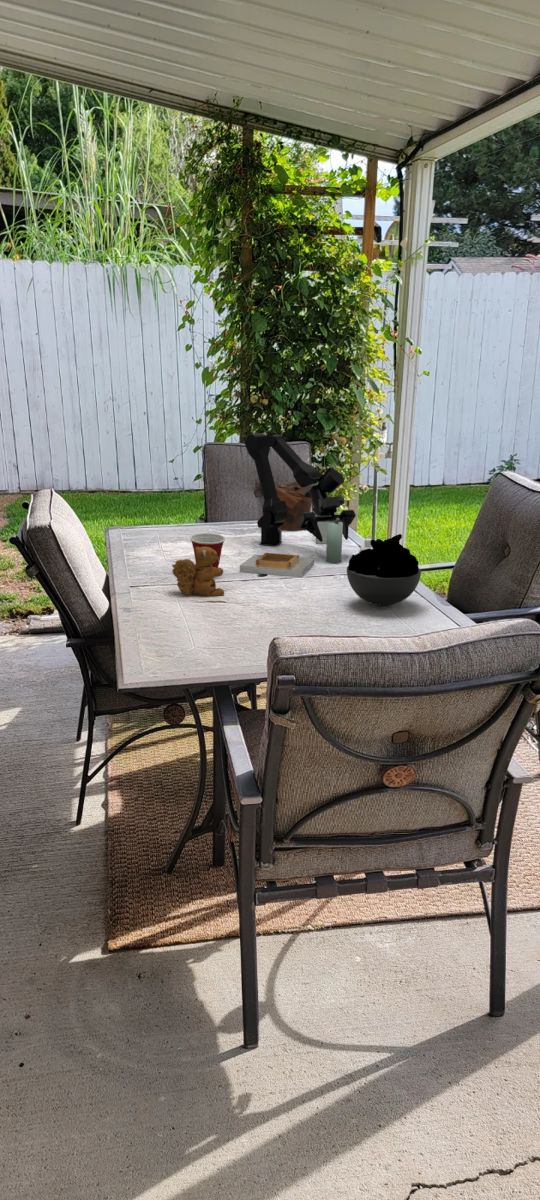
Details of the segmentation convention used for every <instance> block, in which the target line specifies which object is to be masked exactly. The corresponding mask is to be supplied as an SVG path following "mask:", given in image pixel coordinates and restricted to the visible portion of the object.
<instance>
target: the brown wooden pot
mask: <svg viewBox="0 0 540 1200" xmlns="http://www.w3.org/2000/svg"><path fill="white" fill-rule="evenodd" d="M275 487H276V491H277V495H278V498H279V499H280V500H281V501H285V502H286V508H287V510H288V512H287V518H286V520H285V522H284V525H283V526H280V531H302V530H304V528H302V529H301V528H300V527H299V520H300V518H301V516H302V514H303V513H304V512H311V508H312V506H313V503H312V500H311V498H308V497H305V493H306V492H307V489H310V488H311V487H312V486H308V487H301V486H299V485H298V483H297V482H296V480H295V481H292V482H289V483H285V484H281V485H280V484H279V485H278V486H275Z"/></svg>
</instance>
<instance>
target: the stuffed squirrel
mask: <svg viewBox="0 0 540 1200" xmlns="http://www.w3.org/2000/svg"><path fill="white" fill-rule="evenodd" d="M195 551H196V558H197V562H196V561H195V563H194V562H193V561H192V560H191V559H188V558H186V559H185V558H183V559H179V560H176V561H175V563H174V564H172V565H171V566H172V568H173V569H172V570H171V572H172V574H173V576H174V577H175V578H176V582H177V583H176V584H177V587H178V590H179V592H181V593H182V594H183V595H185V596H187V597H188V596H189V597H190V596H192V595H193V596H194V595H198V596H202V597H203V596H205V597H219V596H224V594H225V590H224V589H223V588H220V587H217V588H216V586H217V583H216V580H215V578H217V577H221V576H222V575H223V574H224V569H223V568H222V567H221V566H220V567H219V566H218V568H215V567H213V566H212V563H214V562H215V561H216V560H217V559H218V556H217V552H216V551H215V550H213V549H212V548H210V547H200V548H199V547H196V548H195ZM218 562H219V559H218ZM219 563H220V562H219ZM214 577H215V578H214Z"/></svg>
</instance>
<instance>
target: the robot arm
mask: <svg viewBox="0 0 540 1200" xmlns="http://www.w3.org/2000/svg"><path fill="white" fill-rule="evenodd" d="M244 446H245V449H246V451H247V454H248V455H249V457H251V459H252V460H253V462H254V465H255V467H256V472H257V476H258V481H259V484H260V488H261V494H262V496H263V505H262V509H261V510H262V515H261V517H260V518H259V519H257V521H256V523H257V527H258V528H260V537H261V538H260V543H259V545H262V546H272V547H273V546H274V547H275V546H276V547H277V546H278V545H280V544H282V540H283V539H282V538H283V536H282V535H283V534H282V533H283V532H282V531H283V530H280V526H283V525H284V522H285V520H286V518H287V512H288V510H287V508H286V502H285V501H281V500H280V499H279V498H278V495H277V491H276V487H277V486H276V485H275V480H274V475H273V472H272V467H271V465H270V461H269V454H270V452H271V448H272V450H274V452H276V454H277V455H278V456H279V457H280V459H281V460H282V461H283V462H284V463H285V464H286V465H287V466H288V468H290V470H291V471H292V475H293V476H292V477H293V478H294V480H295V481H296V482H297V483H298V485H299V486H301V487H308V486H312V487H311V488H310V489H307V492H306V493H305V497H308V498H311V500H312V506H313V508H312V511H310V512H304V513H303V514H302V516H301V518H300V520H299V527H300V528H301V529H302V528H304V529H302V530H304V531H308V532H309V533H310V534H311V535H313V536H314V537H315V539H316V538H317V539H318V540H319V541H320V542H322V541H323V539H322V535H321V533H320V530H319V527H318V523H317V522H329V521H335V520H336V518H339V519H340V521H339V522H342V523H343V531H342V537H343V538H344V539H345V540H346V541H348V539H349V527H350V525H351V524H352V523H353V521H354V520H355V518H356V516H357V515H356V512H355V510H354V509H343V510H342V511H341V512H340V514H337V515H335V514H334V513H335V512H336V511H337V510H338V508H340V507H341V506H343V505H344V504H345V498H344V496H343V494H338V495H336V496H329V494H333V493H334V492H335V491H336V490H337V489H339V488H340V487H341V486H342V485H343V484H344V483H345V477H344V476H343V474H342V473H341V472H339V471H338V470H337V469H334V467H332V466H331V467H328V468H327V469H326V471H325V472H324V473H320V472H319V471H318V470H317V469H316V468H315V467H314V466H312V465H311V464H310V463H307V462H305V461H304V460H302V458H301V457H300V456H299V455H298V454H297V452H296V451H294V449H293V448H292V447H291V446H290V445H289V443H288V442H287V441H286V440H285V439H284V436H282V435H281V434H272V435H267V434H265V433H263V432H262V433H252V434H248V435H247V436H246V437H245V440H244ZM316 515H317V516H316Z"/></svg>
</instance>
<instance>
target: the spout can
mask: <svg viewBox="0 0 540 1200" xmlns="http://www.w3.org/2000/svg"><path fill="white" fill-rule="evenodd" d="M339 521H340V519H339V518H336V520H335V521H330V522H327V544H326V551H325V552H326V553H325V555H326V556H325V562H326V563H328V564H340V563H342V554H343V553H342V551H343V550H342V549H343V547H342V546H343V534H342V531H343V523H342V522H339Z"/></svg>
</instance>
